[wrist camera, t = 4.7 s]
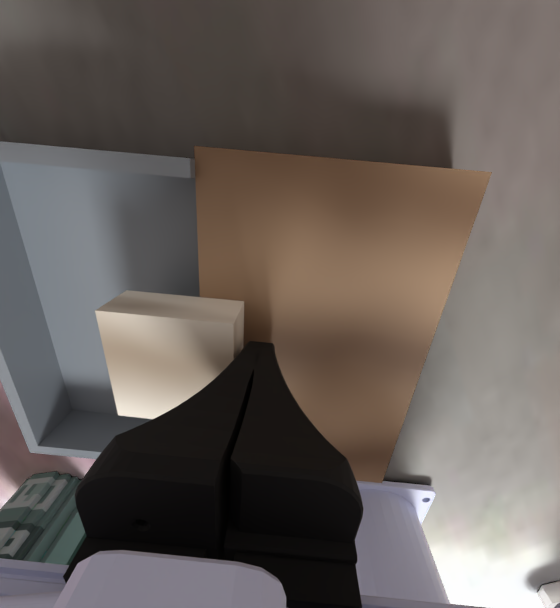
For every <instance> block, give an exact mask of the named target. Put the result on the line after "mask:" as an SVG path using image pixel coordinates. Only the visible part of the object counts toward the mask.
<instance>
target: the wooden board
mask: <svg viewBox="0 0 560 608" xmlns="http://www.w3.org/2000/svg"><path fill="white" fill-rule="evenodd" d="M194 156H195V182H196V209H197V235H198V261H199V287H200V297H204V298H215V299H225V300H236V301H244V342H243V348H244V347H245V345H246V344H247V343H248V342H249V341H256V342H266V343H273V344H274V346H275V354H276V358H277V361H278V364H279V367H280V370H281V372H282V375H283V377H284V379H285V381H286V384H287V386H288V388H289V389H290V391H291V393H292V395H293V397H294V398H295V400H296V402H297V403H298V405H299V406H300V408H301V409H302V411H303V412H304V413H305V415H306V416H307V417H308V419H309V420H310V421H311V422H312V424H313V425H314V426H315V427H316V429H317V430H318V431H319V432H320V433H321V434H322V435H323V436H324V437H325V439H326V440H327V441H328V442H329V443H330V444H332V445H333V446H334V447H335V448H336V449H337V450H338V451H339V452H340V453H341V454H342V455H344V456H345V457H346V458H347V459H348V462H349V464H350V466H351V469H352V471H353V474H354V476H355V479H356V481H365V482H375V483H382V481H383V479H384V476H385V473H386V470H387V467H388V464H389V462H390V459H391V456H392V453H393V450H394V447H395V445H396V442H397V439H398V436H399V433H400V431H401V428H402V425H403V422H404V419H405V416H406V414H407V411H408V408H409V405H410V402H411V399H412V397H413V394H414V391H415V388H416V385H417V382H418V380H419V377H420V374H421V371H422V368H423V365H424V363H425V360H426V357H427V354H428V351H429V349H430V346H431V343H432V340H433V337H434V334H435V332H436V329H437V326H438V323H439V320H440V317H441V315H442V312H443V309H444V306H445V303H446V300H447V298H448V295H449V292H450V289H451V286H452V283H453V281H454V278H455V275H456V272H457V269H458V267H459V264H460V261H461V258H462V255H463V252H464V250H465V247H466V244H467V241H468V238H469V235H470V233H471V230H472V227H473V224H474V221H475V218H476V216H477V213H478V210H479V207H480V204H481V201H482V199H483V196H484V193H485V190H486V187H487V185H488V182H489V179H490V176H491V173H492V172H483V171H472V170H461V169H450V168H438V167H427V166H416V165H404V164H393V163H382V162H371V161H359V160H348V159H337V158H326V157H314V156H303V155H292V154H281V153H269V152H258V151H247V150H235V149H224V148H213V147H202V146H194Z"/></svg>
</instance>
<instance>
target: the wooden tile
mask: <svg viewBox="0 0 560 608" xmlns="http://www.w3.org/2000/svg"><path fill="white" fill-rule="evenodd" d="M95 313H96V318H97V322H98V327H99V331H100V336H101V340H102V345H103V349H104V354H105V358H106V363H107V367H108V372H109V376H110V381H111V385H112V390H113V394H114V399H115V403H116V408H117V412H118V415H120V416H129V417H138V418H147V419H154V418H156V417H158V416H160V415H162V414H164V413H166V412H168V411H170V410H171V409H173V408H175V407H177V406H178V405H180V404H181V403H183V402H184V401H186V400H188V399H189V398H190V397H192V396H193V395H195V394H196V393H198V392H199V391H200V390H201V389H203V388H204V387H205V386H207V385H208V384H209V383H210V382H211V381H213V380H214V379H215V378H216V377H217V376H218V375H219V374H220V373H221V372H222V371H223V370H224V369H225V368H226V367H227V366H228V365H229V364H230V363H231V362H232V361H233V360H234V359H235V358H236V356H237V355H238V354H239V353H240V352H241V350H242V349H243V342H244V301H236V300H225V299H215V298H204V297H193V296H183V295H172V294H161V293H151V292H140V291H129V290H126V291H125V292H123V293H122V294H120V295H119V296H117V297H115V298H114V299H112V300H111V301H109V302H107V303H106V304H104V305H103V306H101V307H100V308H98V309H96V310H95Z"/></svg>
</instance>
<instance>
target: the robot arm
mask: <svg viewBox="0 0 560 608" xmlns="http://www.w3.org/2000/svg"><path fill="white" fill-rule="evenodd" d="M435 495H436V493H435V491H434V489H433V487H431V486H429V485H420V484H409V483H399V482H389V481H382V483H375V482H365V481H356V479H355V476H354V474H353V471H352V469H351V466H350V464H349V462H348V459H347V458H346V457H345V456H344V455H342V454H341V453H340V452H339V451H338V450H337V449H336V448H335V447H334V446H333V445H332V444H330V443H329V442H328V441H327V440H326V439H325V437H324V436H323V435H322V434H321V433H320V432H319V431H318V430H317V429H316V427H315V426H314V425H313V424H312V422H311V421H310V420H309V419H308V417H307V416H306V415H305V413H304V412H303V411H302V409H301V408H300V406H299V405H298V403H297V402H296V400H295V398H294V397H293V395H292V393H291V391H290V389H289V388H288V386H287V384H286V381H285V379H284V377H283V375H282V372H281V370H280V367H279V364H278V361H277V358H276V354H275V346H274V344H273V343H266V342H256V341H249V342H248V343H247V344H246V345H245V347H244V348H243V349H242V350H241V352H240V353H239V354H238V355H237V356H236V358H235V359H234V360H233V361H232V362H231V363H230V364H229V365H228V366H227V367H226V368H225V369H224V370H223V371H222V372H221V373H220V374H219V375H218V376H217V377H216V378H215V379H214V380H213V381H211V382H210V383H209V384H208V385H207V386H205V387H204V388H203V389H201V390H200V391H199V392H198V393H196V394H195V395H193V396H192V397H190V398H189V399H188V400H186V401H184V402H183V403H181V404H180V405H178V406H177V407H175V408H173V409H171V410H170V411H168V412H166V413H164V414H162V415H160V416H158V417H156V418H154V419H152V420H150V421H148V422H146V423H144V424H142V425H139V426H137V427H135V428H133V429H130V430H128V431H126V432H123V433H121V434H118V435H116V436H115V437H114V438H113V439H112V441H111V442H110V443H109V444H108V445H107V446H106V448H105V449H104V450H103V451H102V453H101V454H100V455H99V456H98V458H97V459H96V461H95V462H94V464H93V465H92V466H91V468H90V469H89V471H88V472H87V474H86V475H85V476H84V478H83V479H82V481H81V482H80V484H79V485H78V486H77V489H76V492H75V502H76V507H77V510H78V513H79V516H80V519H81V521H82V524H83V527H84V530H85V533H86V538H85V539H84V541H83V543H82V544H81V546H80V548H79V550H78V551H77V553H76V555H75V556H74V558H73V560H72V562H71V563H70V565H61V564H51V563H41V562H31V561H22V560H12V559H2V558H0V608H484V607H474V606H464V605H455V604H450V602H449V600H448V597H447V594H446V591H445V589H444V586H443V583H442V581H441V578H440V575H439V572H438V570H437V567H436V564H435V561H434V559H433V556H432V553H431V551H430V548H429V545H428V542H427V540H426V537H425V534H424V531H423V529H422V526H421V524H422V522H423V520H424V518H425V516H426V514H427V512H428V510H429V508H430V506H431V504H432V501H433V499H434V497H435ZM554 608H560V602H559V603H558V604H557V605H556V606H555V607H554Z"/></svg>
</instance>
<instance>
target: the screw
mask: <svg viewBox="0 0 560 608" xmlns="http://www.w3.org/2000/svg"><path fill="white" fill-rule="evenodd" d="M538 596H539V597H540V599H541V601H542V603H543V604H544V606H545V608H554V607H555V606H556V605H557V604H558V603H559V602H560V581H557V582H553V583H549V584H544V585H542V586H541V588H540V590H539V591H538Z"/></svg>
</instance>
